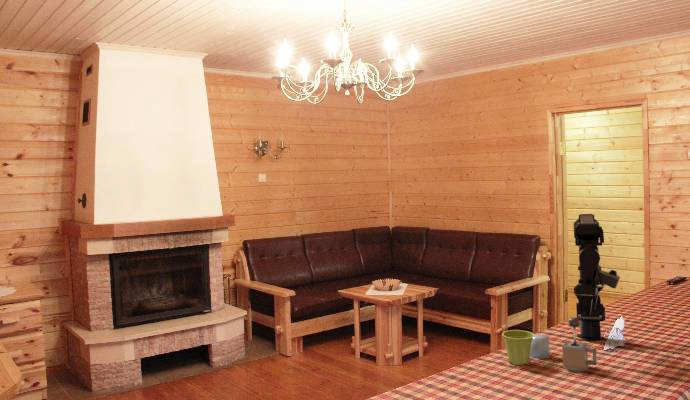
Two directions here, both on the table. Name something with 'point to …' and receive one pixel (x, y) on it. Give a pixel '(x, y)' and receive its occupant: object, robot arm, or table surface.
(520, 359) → the plant pot
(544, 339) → the grey rounded cylinder
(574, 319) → the plunger
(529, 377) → the table surface
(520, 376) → the table surface
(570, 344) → the press carafe
